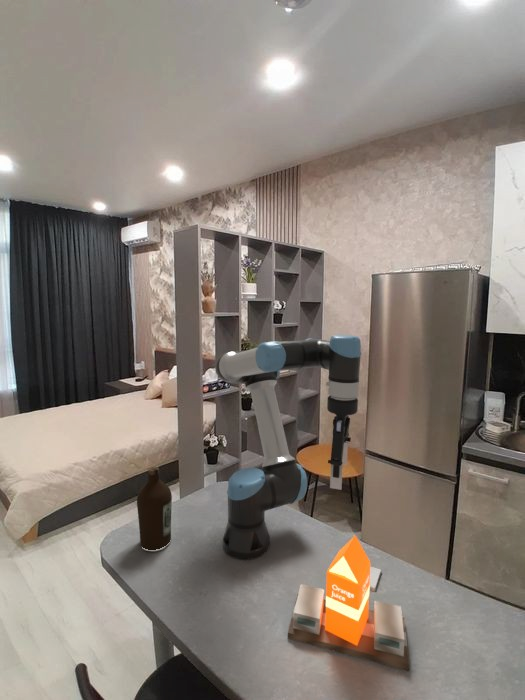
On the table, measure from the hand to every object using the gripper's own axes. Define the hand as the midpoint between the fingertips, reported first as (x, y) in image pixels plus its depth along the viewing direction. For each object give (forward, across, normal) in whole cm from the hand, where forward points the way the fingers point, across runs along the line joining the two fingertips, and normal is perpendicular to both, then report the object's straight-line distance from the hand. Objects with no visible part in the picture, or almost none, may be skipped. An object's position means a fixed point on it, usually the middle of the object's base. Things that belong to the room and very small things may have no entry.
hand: (338, 475), depth 95 cm
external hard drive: (+33, -7, +6) cm, 34 cm away
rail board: (+32, +13, +5) cm, 35 cm away
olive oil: (+33, 0, -57) cm, 66 cm away
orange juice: (+30, +13, +5) cm, 33 cm away
